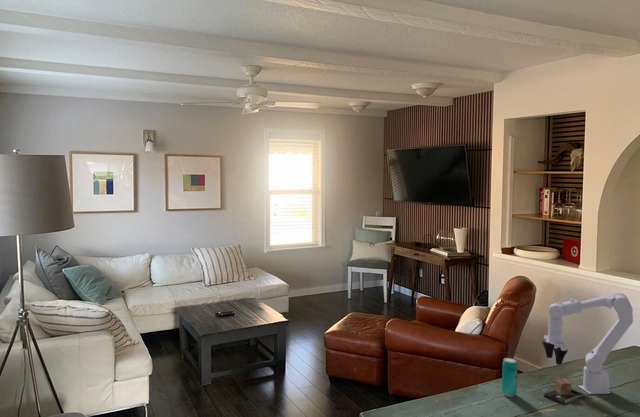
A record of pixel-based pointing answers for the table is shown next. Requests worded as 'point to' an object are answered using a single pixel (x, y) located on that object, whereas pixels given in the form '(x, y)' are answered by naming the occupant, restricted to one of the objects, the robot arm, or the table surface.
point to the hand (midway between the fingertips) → (554, 360)
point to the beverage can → (509, 377)
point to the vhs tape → (563, 396)
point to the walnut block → (562, 386)
